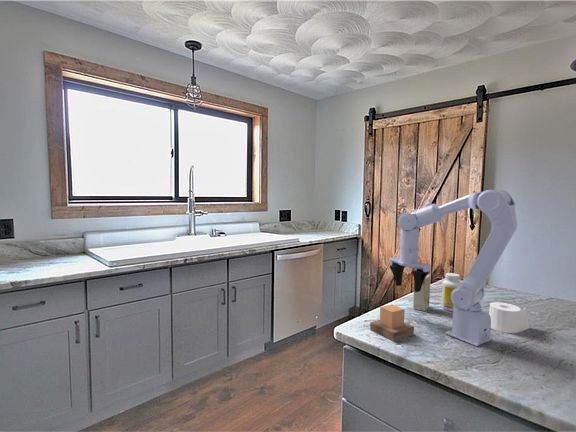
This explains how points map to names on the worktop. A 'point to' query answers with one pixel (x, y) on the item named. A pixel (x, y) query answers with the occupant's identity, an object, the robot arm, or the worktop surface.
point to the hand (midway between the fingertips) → (407, 288)
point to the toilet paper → (508, 318)
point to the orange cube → (392, 316)
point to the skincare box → (422, 296)
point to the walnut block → (392, 330)
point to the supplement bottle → (449, 290)
